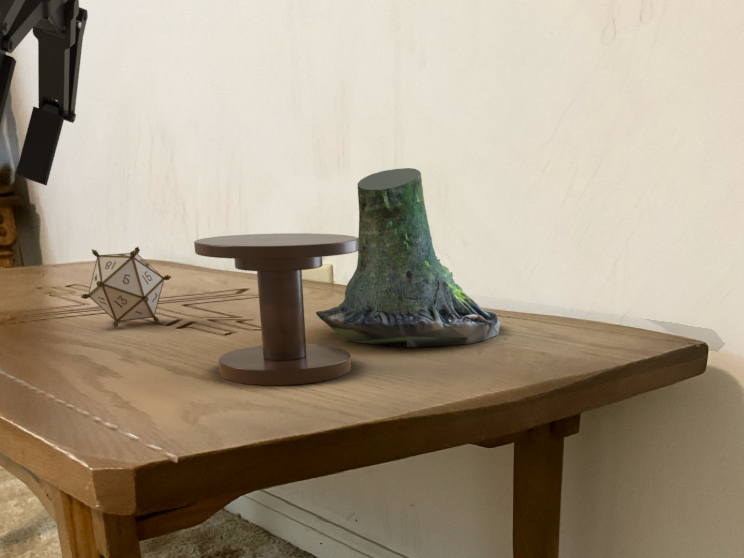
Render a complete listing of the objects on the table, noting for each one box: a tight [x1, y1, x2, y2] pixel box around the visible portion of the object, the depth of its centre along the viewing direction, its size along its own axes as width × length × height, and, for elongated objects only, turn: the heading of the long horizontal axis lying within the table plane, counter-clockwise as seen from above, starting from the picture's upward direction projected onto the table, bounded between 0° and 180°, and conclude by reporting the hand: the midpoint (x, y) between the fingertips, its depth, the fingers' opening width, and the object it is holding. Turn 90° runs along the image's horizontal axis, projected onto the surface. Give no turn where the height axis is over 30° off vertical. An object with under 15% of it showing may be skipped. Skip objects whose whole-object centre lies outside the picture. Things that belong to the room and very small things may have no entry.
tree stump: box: [315, 167, 501, 348], centre depth 83 cm, size 18×20×18 cm
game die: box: [80, 246, 172, 330], centre depth 92 cm, size 9×8×10 cm
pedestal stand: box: [193, 232, 359, 386], centre depth 70 cm, size 13×13×10 cm
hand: (6, 159), depth 75 cm, fingers open, 13 cm apart
